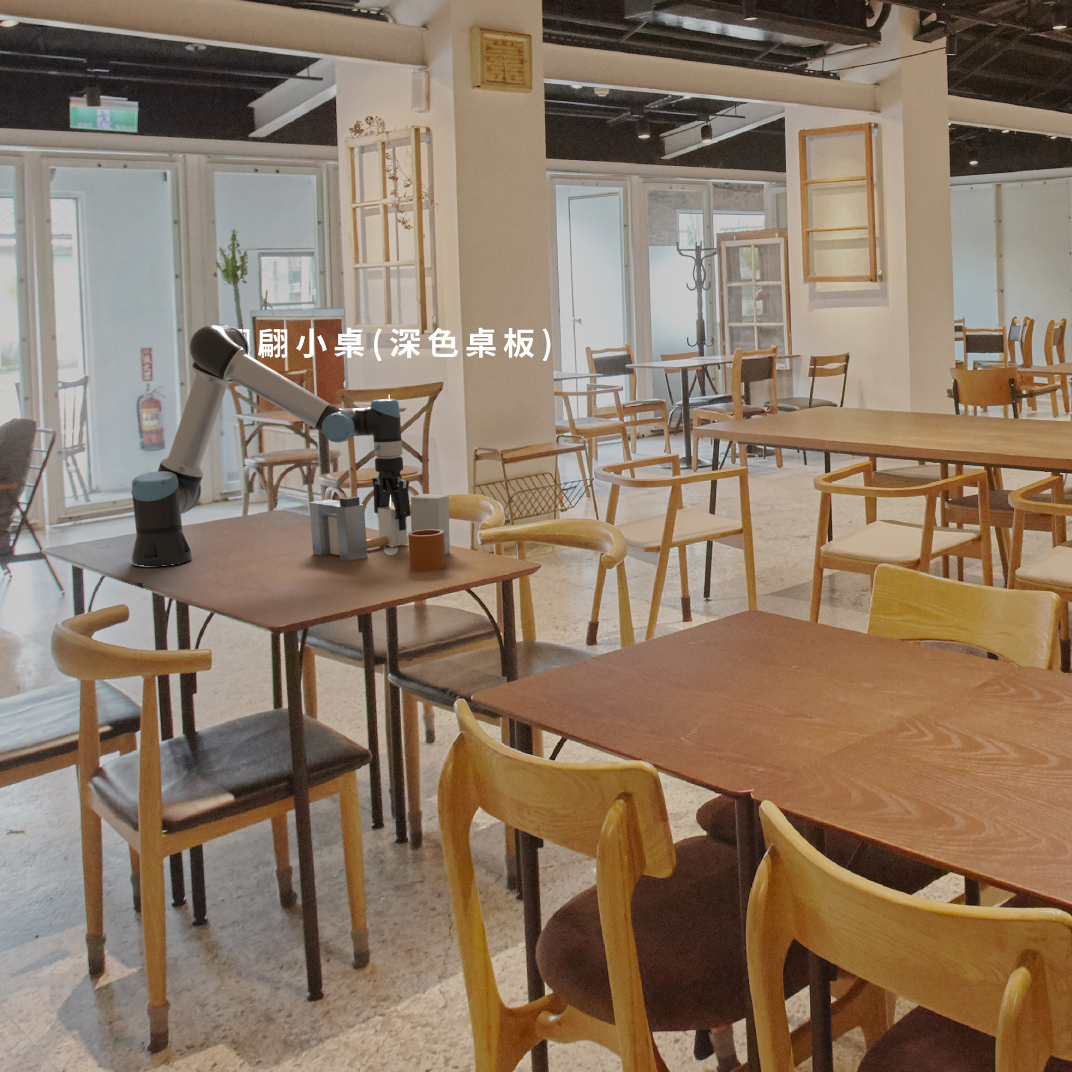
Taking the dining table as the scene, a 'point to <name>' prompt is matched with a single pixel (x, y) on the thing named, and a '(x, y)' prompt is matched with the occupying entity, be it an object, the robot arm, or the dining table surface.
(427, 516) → the skincare box
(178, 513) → the robot arm
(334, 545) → the white block dumbbell
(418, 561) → the mug
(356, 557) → the gray notched block
